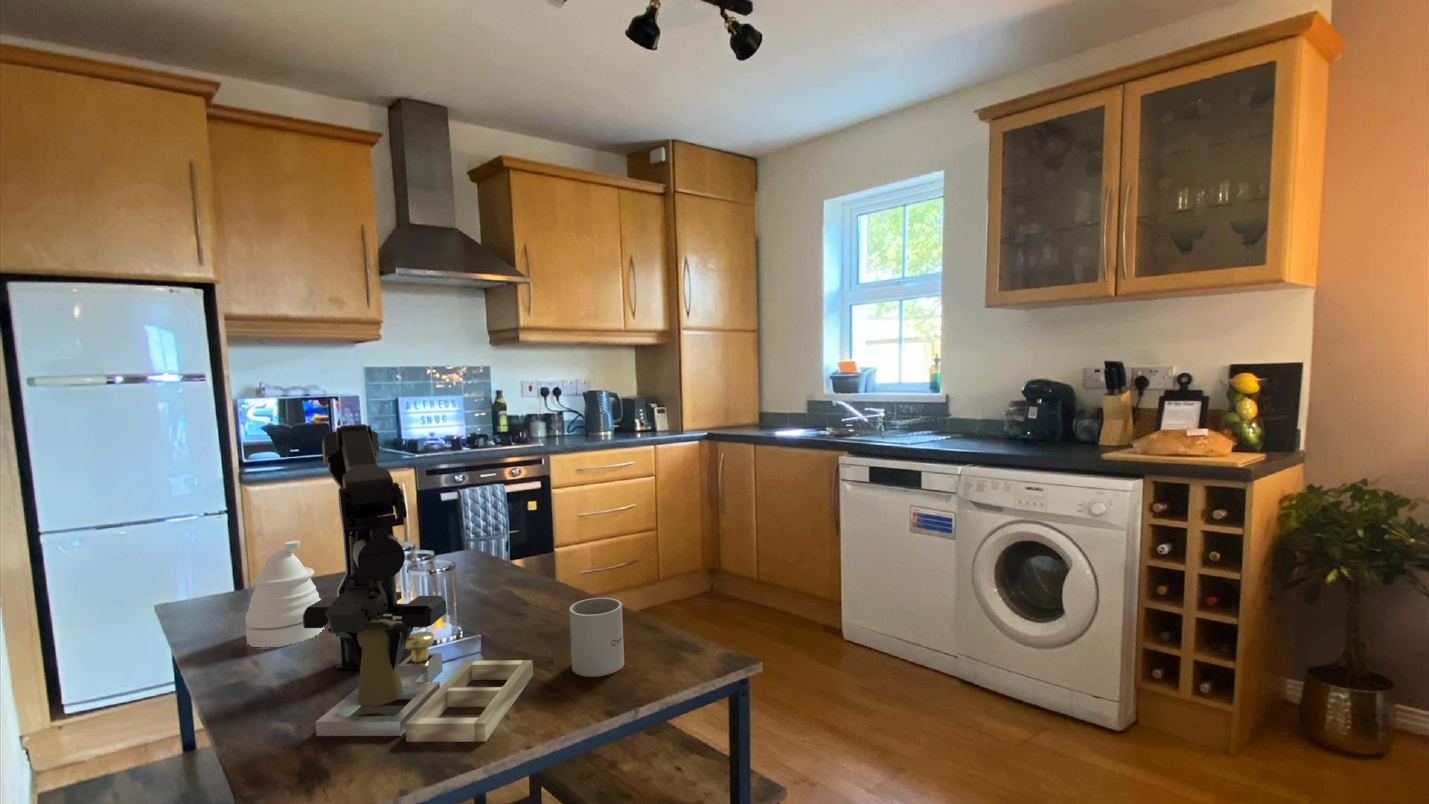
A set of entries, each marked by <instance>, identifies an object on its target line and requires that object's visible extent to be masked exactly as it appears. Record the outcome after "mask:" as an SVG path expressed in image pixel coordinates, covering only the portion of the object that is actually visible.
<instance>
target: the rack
mask: <svg viewBox="0 0 1429 804" xmlns="http://www.w3.org/2000/svg"><path fill="white" fill-rule="evenodd" d="M533 663H534V662H533V660H532V659H523V660H522V659H521V660H520V659H519V660H518V659H516V660H515V659H514V660H513V659H512V660H505V659H504V660H465V661H464V662H463V663H462V664H461V665H460V666H459V668H457V670H456V671H455V672H454V673H453V674H452V675H451V676H450V677H449V678H448V679H447V680H446V681H445V682H444V683H443V684H441V685H440V688H439V689H438V690H437V691H436V692H435V693H434V694H433V695H432V697H431V698H430V699H429V700H428V701H427V702H426V703H425V704H424V705H423V706H422V707H421V708H420V709H419V710H418V711H417V712H416V713H415V714H414V715H413V716H412V717H411V718H410V719H409V720H408V721H407V722H406V723H405V730H406V731H405V742H406V743H408V742H410V743H413V742H415V743H418V742H419V743H420V742H424V743H425V742H429V743H430V742H431V743H433V742H434V743H435V742H436V743H437V742H441V743H442V742H444V743H445V742H447V743H448V742H449V743H450V742H454V743H455V742H457V743H459V742H461V743H462V742H464V743H465V742H470V743H471V742H472V743H473V742H483V743H484V742H485V743H486V742H487V740H488V739H489V738H490V737H491V735H492V734H493V732H494V731H495V729H497V727H498V726H499V724H500V723H501V721H502V720H503V718H504V717H505V716H506V714H507V713H508V712H509V710H510V708H511V707H512V706H513V704H514V703H515V701H516V700H517V699H518V698H519V696H520V694H521V693H522V692H523V690H524V688H526V686H527V684H528V683H529V682H530V681H531V680H532V678H533V676H534V668H533V665H534V664H533ZM474 680H475V681H485V680H486V681H491V680H492V681H493V680H495V681H496V680H497V681H499V680H501V681H504V680H506V682H505V683H504V685H502V686H499V687H497V686H496V687H493V686H490V687H489V686H487V687H484V686H483V687H482V686H481V687H477V686H475V687H473V686H472V687H469V686H468V685H470V683H471V682H472V681H474ZM448 708H484V710H483V711H482V712H481V714H480V715H479V716H478V717H441V716H442V715H443V713H445V711H446V710H447V709H448Z"/></svg>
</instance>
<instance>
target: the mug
mask: <svg viewBox="0 0 1429 804" xmlns="http://www.w3.org/2000/svg"><path fill="white" fill-rule="evenodd" d="M568 609H569V627H570V629H569V631H570V648H571V649H570V652H571V669H572V672H573V673H574V674H576V675H578V676H582V677H590V678H591V677H602V676H607V675H611V674H614V673H617V672H618V671H619V670H621V669H622V668H623V667H624V666H625V654H624V653H625V651H624V626H623V625H624V623H623V603H622V602H621V601H620V600H618V599H615V598H612V597H611V598H610V597H594V598H593V597H592V598H587V599H584V600H579V601H577V602H574V603H572V604H571V606H570V607H569V608H568Z"/></svg>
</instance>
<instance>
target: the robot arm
mask: <svg viewBox="0 0 1429 804" xmlns="http://www.w3.org/2000/svg"><path fill="white" fill-rule="evenodd" d="M321 447H322V449H321V450H322V461H323V464H327V471H328V474H329V475H330V477H331V479H333V481H334V482H335V483H336V484H337V486H338V487H339V488H338V508H339V516H340V520H341V527H342V535H343V537H342V539H343V551H344V562H345V563H344V564H345V572H344V575H343V577H342V578H341V581H340V583H339V584H338V586H337V588H336V596H325V597H324V598H320V599H321V600H320V601H318V602H316V603H314V604H312V605H310V606H309V607H307V608H306V610H305V612H304V614H303V627H304V628H323V627H325V628H326V625H327V624H329V628H328V629H327V632H328V633H330V634H335V637H339V640H340V659H341V662H340V663H339V664H338V665H336V666H335V669H336V670H338V671H340V670H343V671H344V670H350V671H351V670H360V667H361V655H362V647H361V646H360V645H359V643H358V640H357V633H360V632H362V631H364V630H365V629H366V628H367V627H368V625H369V623H370V621H379V620H381V619H386V620H390V621H393V625H391V626H390V627H389V628H387V629H386V630H385V632H386V633H387V634H388V636H389V637H390V662H391V665H392V668H393V670H395V669H397V667H398V665H399V664H400V663H401V660H402V657H403V654H404V651H405V649H406V648H405V646H406V643H407V641H408V638H409V636H410V634H412V632H413V630H414V628H427V627H430V626H431V627H432V625H434V624H435V623H436V622H437V621H439V620H440V619H441V618H442V617H443V616H445V615H446V614H447V613H448V612H447V611H448V610H447V601H446V600H445V599H444V597H443V596H442V595H418V596H416V598H414V599H412V600H411V601H409V602H408V603H398V601H400V600H401V599H402V591H397V577H396V575H397V574H398V573H400V571H401V570H402V568H403V566H404V564H405V558H406V554H405V553H406V552H405V550H404V549H403V546H402V545H401V543H400V542H399V541H398V540H397V538H396V536H395V535H394V530H393V529H394V527H399V526H405V519H406V518H407V513H408V511H407V508H406V507H407V506H406V502H405V496H404V492H403V489H402V488H401V487H400V484H399V483H398V482H396V481H394V479H393V476H392V474H391V472H390V471H389V469H386V468H384V467H381V466H379V464H378V462H377V460H378V458H379V457H380V454H381V451H380V450H381V449H380V442H379V433H378V432H377V431H374V430H372V426H371V425H367V424H365V423H364V424H348V425H340V426H339V427H336V429H335V431H333V432H330V433H329V434H327V435H325V436H323V438H322V444H321ZM394 513H395V514H394Z"/></svg>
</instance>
